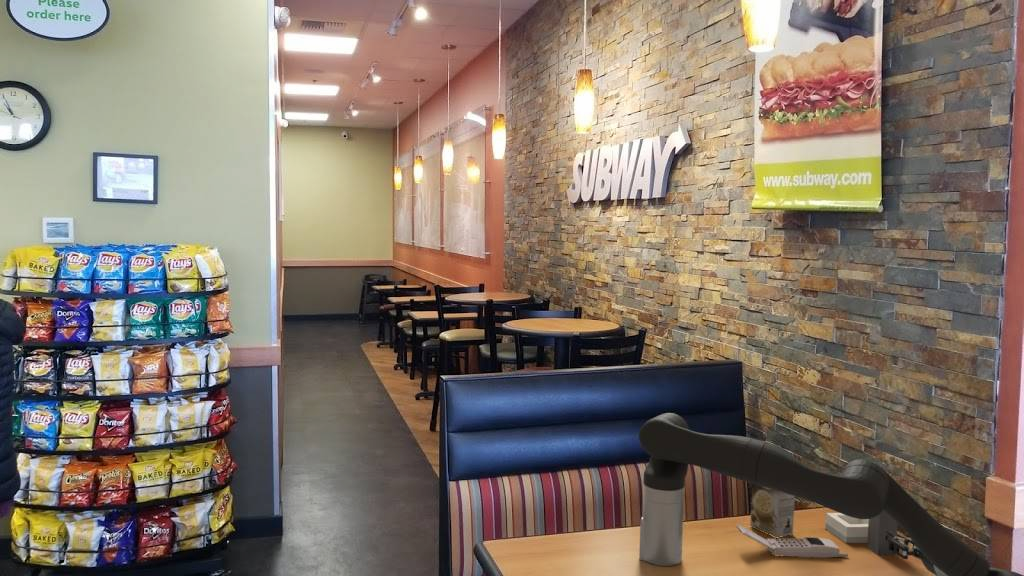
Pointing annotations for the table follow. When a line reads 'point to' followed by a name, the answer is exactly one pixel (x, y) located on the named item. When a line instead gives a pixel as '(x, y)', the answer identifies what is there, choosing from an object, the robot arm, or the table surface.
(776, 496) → the coffee box
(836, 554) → the mobile phone
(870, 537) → the plug
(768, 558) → the table surface
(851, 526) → the socket block
